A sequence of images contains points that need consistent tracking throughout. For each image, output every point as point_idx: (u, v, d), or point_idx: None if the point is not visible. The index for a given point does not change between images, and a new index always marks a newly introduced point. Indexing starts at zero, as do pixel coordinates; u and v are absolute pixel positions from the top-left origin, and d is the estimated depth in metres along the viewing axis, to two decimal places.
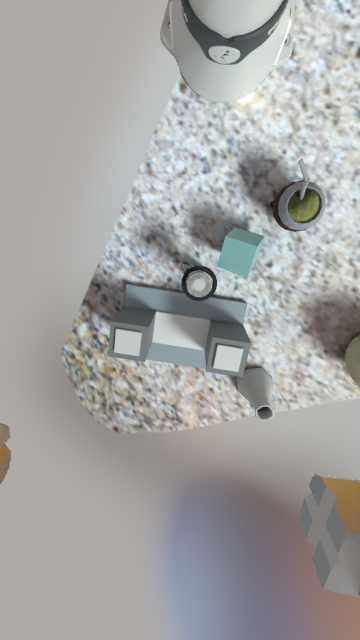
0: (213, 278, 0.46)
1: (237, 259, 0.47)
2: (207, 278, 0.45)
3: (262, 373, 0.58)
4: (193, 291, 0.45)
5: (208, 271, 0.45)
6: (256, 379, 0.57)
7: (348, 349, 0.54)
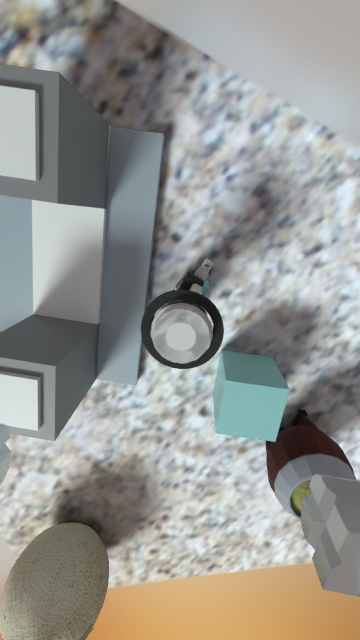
0: (194, 361, 0.20)
1: (246, 413, 0.25)
2: (196, 355, 0.19)
3: None
4: (165, 323, 0.18)
5: (210, 351, 0.20)
6: None
7: (73, 534, 0.34)
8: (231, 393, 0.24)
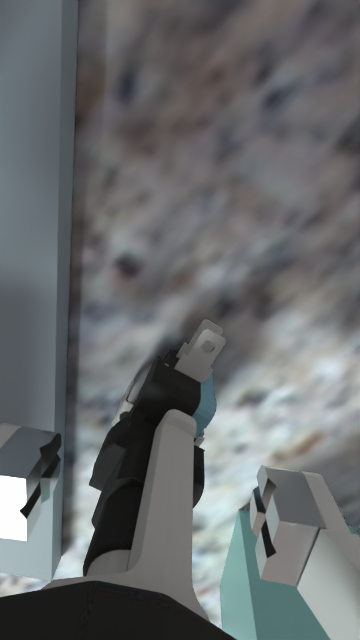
0: None
1: None
2: None
3: None
4: None
5: None
6: None
7: None
8: None
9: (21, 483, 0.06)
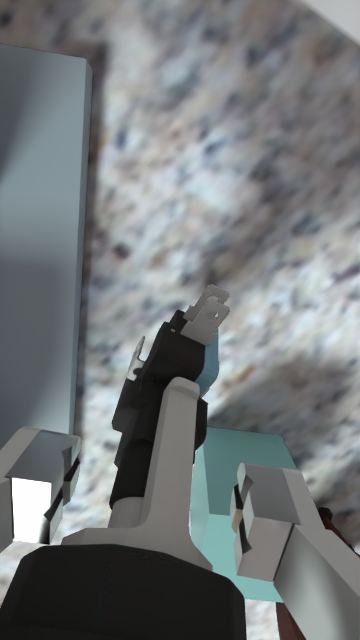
0: None
1: None
2: None
3: None
4: None
5: None
6: None
7: None
8: (219, 533, 0.13)
9: (46, 487, 0.06)
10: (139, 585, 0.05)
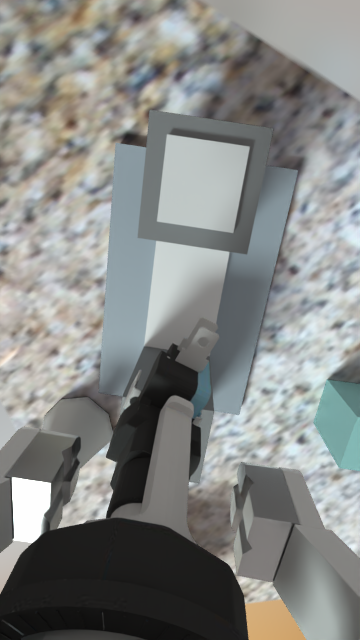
0: None
1: None
2: None
3: (104, 445, 0.31)
4: None
5: None
6: (93, 442, 0.30)
7: None
8: None
9: (46, 487, 0.06)
10: (143, 549, 0.05)
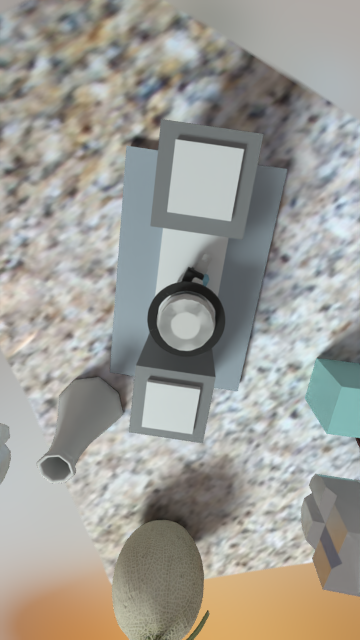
0: (198, 349, 0.21)
1: (356, 416, 0.28)
2: (201, 342, 0.20)
3: (115, 420, 0.34)
4: (170, 313, 0.20)
5: (213, 338, 0.21)
6: (106, 417, 0.33)
7: (171, 530, 0.36)
8: (345, 398, 0.27)
9: None
10: None
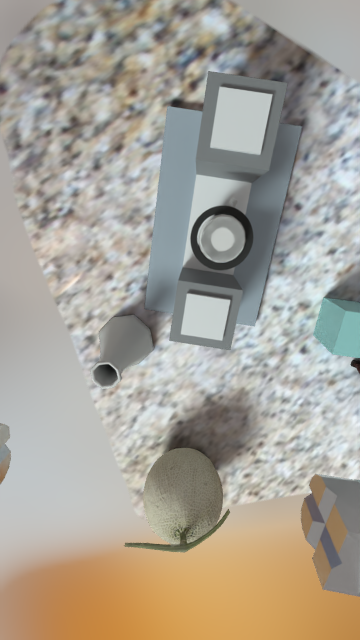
0: (231, 263, 0.27)
1: (358, 337, 0.33)
2: (234, 254, 0.25)
3: (147, 352, 0.39)
4: (211, 228, 0.25)
5: (243, 254, 0.26)
6: (141, 346, 0.38)
7: (194, 453, 0.42)
8: (348, 321, 0.32)
9: None
10: None
